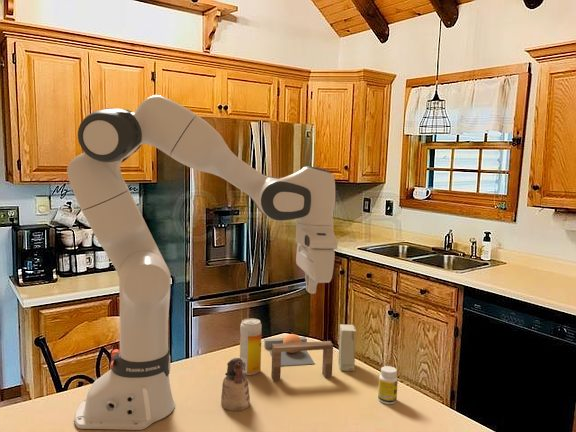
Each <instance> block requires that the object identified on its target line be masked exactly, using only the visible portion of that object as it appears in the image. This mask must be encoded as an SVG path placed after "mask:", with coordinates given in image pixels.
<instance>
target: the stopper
mask: <svg viewBox="0 0 576 432" xmlns="http://www.w3.org/2000/svg"><path fill="white" fill-rule="evenodd" d="M284 338H285V337H277V338H264V339H263V340H264V341H263V343H264V344H263V346H264V349H265V350H266V349H272V344H282V343H283V340H284ZM299 338H300V339H301V342H308V339H307V337H306V336H299Z"/></svg>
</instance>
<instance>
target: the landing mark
mask: <svg viewBox="0 0 576 432" xmlns="http://www.w3.org/2000/svg"><path fill="white" fill-rule="evenodd" d="M268 351H269V353H270V357H272V349H269V350H268ZM304 365H305V366H306V365H315V362H314V360H313V358H312V357H311V355H310V353H309V352H308V350H306V351H298V352H296V353H288V352H281V367H291V366H304Z"/></svg>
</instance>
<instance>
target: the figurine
mask: <svg viewBox="0 0 576 432" xmlns="http://www.w3.org/2000/svg"><path fill="white" fill-rule="evenodd" d="M226 365H227V366H226V367H227V368H226V372H225V374H224V375H225V377H224V379H223V380H222V387H221V397H220V398H221V399H220V404H221V407H222V408H224V409H225V410H227V411H232V412H239V411H243V410H245V409H247V408H248V407H249V406H250V403H251V402H250V401H251V400H250V398H251V397H250V387H249V380H248V377H247V375H245V374H243V372H242V365H243V362H242V360H241V359H240V357H233V358H232V359H230V360H229V361H228V362H227V364H226Z"/></svg>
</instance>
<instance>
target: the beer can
mask: <svg viewBox="0 0 576 432" xmlns="http://www.w3.org/2000/svg"><path fill="white" fill-rule="evenodd" d="M239 328H240V330H239V332H240V333H239V334H240V336H239V338H240V339H239V358H240V359H241V360H242V362H243V365H242V372H243V374H244V375H245V376H254V375H257V374H258V373H259V372H260V371H261V367H262V366H261V364H262V328H263V327H262V323H261V320H260V319H257V318H251V317H250V318H248V317H247V318H244V319H242V320H241V323H240V327H239Z"/></svg>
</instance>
